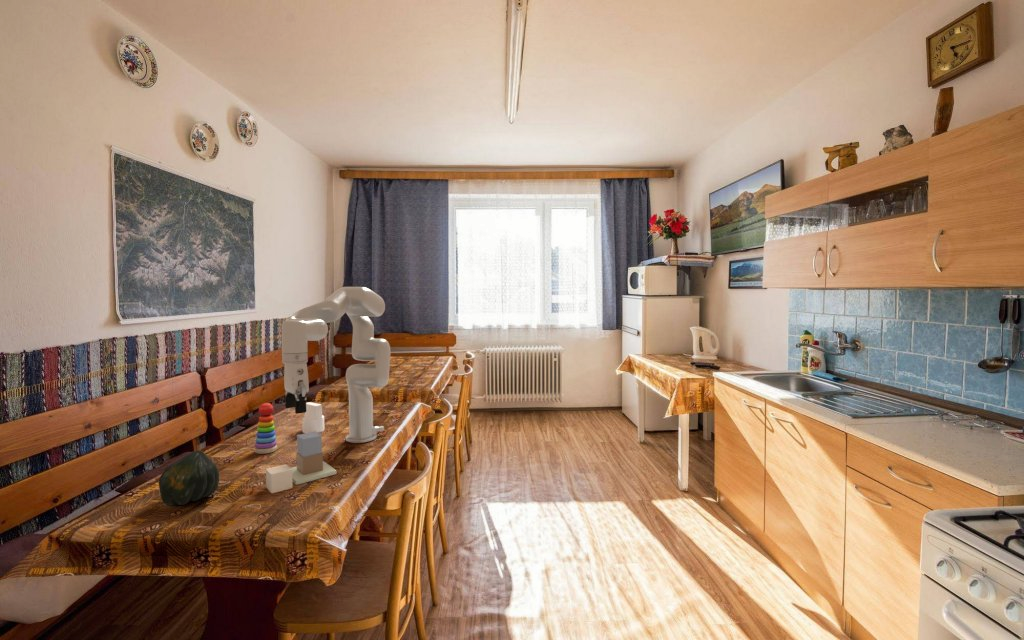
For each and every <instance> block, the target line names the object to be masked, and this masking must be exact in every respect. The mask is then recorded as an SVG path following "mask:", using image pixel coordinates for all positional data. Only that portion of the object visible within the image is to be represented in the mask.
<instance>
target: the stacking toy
mask: <svg viewBox="0 0 1024 640" xmlns="http://www.w3.org/2000/svg"><path fill="white" fill-rule="evenodd" d="M274 411H275V410H274V405H272V403H269V402H265V403H262V404H261V405H260V406H259V407H258V413H259V414H260V416H259V417H258V422H257V432H256V436H257V437H256V438H255V443H254V449H253V451H254V453H256V454H258V455H261V454H262V455H265V454H272V453H274V452H275V451H277V450H278V445H277V436H276V431H275V429H276V427H275V425H274V424H275V422H274V415H273V413H274Z"/></svg>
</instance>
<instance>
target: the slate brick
mask: <svg viewBox="0 0 1024 640" xmlns="http://www.w3.org/2000/svg"><path fill="white" fill-rule="evenodd" d="M322 438H323V437H322V435H321V434H320V433H317V432H310V433H301V434H297V435H296V449H297V452H296V454H297V453H299V454H300V455H301V456H302V457H306V456H311V455H315V454H319V453H323V450H322V449H323V447H322V444H323V443H322V441H323V440H322Z"/></svg>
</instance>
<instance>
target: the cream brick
mask: <svg viewBox="0 0 1024 640" xmlns="http://www.w3.org/2000/svg"><path fill="white" fill-rule="evenodd" d="M291 468H292V467H290V466H289V465H288V464H286V463H285V464H282V465H278V466H277V465H276V466H273V467H272V466H271V467H269V468H267V467H266V468H265V485H266V488H267V490H268V491H269V492H270V493H271V494H275V493H279V492H282V491H287V490H290V489H293V487H294V486H293V481H292V469H291Z"/></svg>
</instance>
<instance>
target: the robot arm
mask: <svg viewBox="0 0 1024 640" xmlns="http://www.w3.org/2000/svg"><path fill="white" fill-rule="evenodd" d="M385 311H386V304H385V300H384V299H383V297H382V296H380V295H379V294H377V293H376V292H375V291H373V290H371V289H370V288H368V287H365V286H343V287H340V288H338V289H336V290H335V291H334V292H332V294H330V295H329V296H328V297H326V298H325V299H324V300H323V301H321V302H318V303H315V304H312V305H309V306H306V307H303V308H301V309H299V310H298V311H296V312H294V313H293V314H291V316H289V317H288V318H287V319H286V320H284V321H283V322H282V323H281V359H282V360H281V363H282V364H284V371H283V372H284V373H283V381H284V382H283V384H284V385H283V386H284V390H285V393H284V395H285V396H284V397H285V398H284V399H285V401H284V402H285V403H284V405H285V406H284V407H285V409H290V408H294V412H295V414H304V413H305V412H306V403H307V396H308V395H307V393H309V391H310V388H309V387H310V385H309V384H310V383H309V373H308V372H309V370H308V364H307V363H308V361H309V356H308V355H309V354H308V352H309V351H308V342H309V341H312V342H313V341H314V342H318V341H320V340H323V339H324V338H325V337H326V336H328V332H329V326H328V324H329V323H333V322H335V321H336V322H337V321H338V320H339V319H341V318H342V317H343V316H344V315H345V314H346V315H347V317H348V318H349V320H350V322H351V325H352V339H351V342H352V343H351V356H352V358H353V359H354V360H356V361H362V362H369V361H370V362H375V364H374V363H373V364H370V363H356V364H355V363H354V364H351V365H350V366H348V368H347V369H346V371H345V381H346V384H347V390H348V425H349V426H348V430H349V432H348V434H347V435H345V442H348V443H352V444H360V443H368V442H371V441H374V440H375V439H377V438H378V435H377V433H378V432H381V431H384V430H385V427H384V426H383V425H380V426H379V425H375V426H374V414H373V413H374V411H373V410H374V408H373V407H374V405H373V404H374V402H373V401H374V399H373V394H372V392H371V390H370V389H369V388H377V389H378V388H379V389H380V388H384V387H385V386H387V385H388V383H389V379H390V371H391V370H390V367H391V353H392V352H391V344H390V343H389V341H388V340H387V339H384V338H375V327H374V323H373V321H372V320H371V318H373V317H375V318H377V317H381V316H382V315H383V314H384V312H385ZM370 317H371V318H370Z"/></svg>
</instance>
